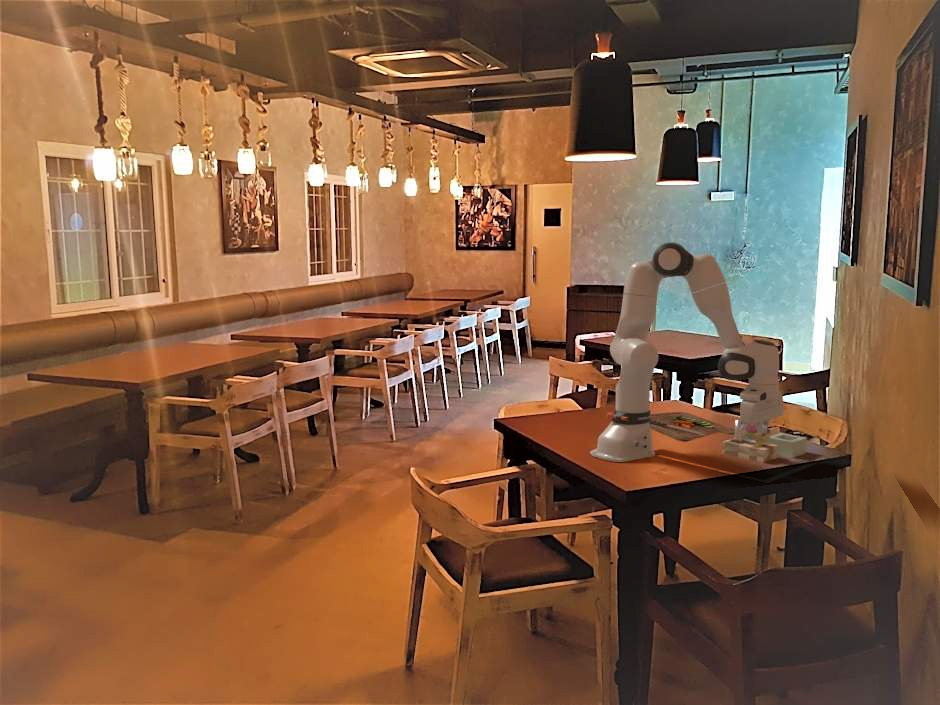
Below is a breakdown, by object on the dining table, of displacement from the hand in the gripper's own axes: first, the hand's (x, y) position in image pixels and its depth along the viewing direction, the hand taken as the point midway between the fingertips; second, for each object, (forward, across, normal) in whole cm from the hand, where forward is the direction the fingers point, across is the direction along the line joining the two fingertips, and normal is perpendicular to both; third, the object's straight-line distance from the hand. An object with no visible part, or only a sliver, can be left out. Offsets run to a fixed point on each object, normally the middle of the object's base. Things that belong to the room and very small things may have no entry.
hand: (761, 434), depth 236 cm
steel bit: (+8, 0, -8) cm, 11 cm away
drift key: (+6, 0, 0) cm, 6 cm away
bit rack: (+9, -12, +2) cm, 15 cm away
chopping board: (+10, -21, -44) cm, 49 cm away
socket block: (+9, 0, -4) cm, 10 cm away
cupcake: (+9, -18, -12) cm, 23 cm away
